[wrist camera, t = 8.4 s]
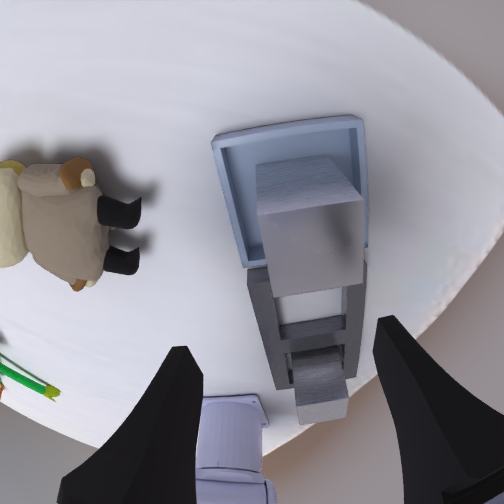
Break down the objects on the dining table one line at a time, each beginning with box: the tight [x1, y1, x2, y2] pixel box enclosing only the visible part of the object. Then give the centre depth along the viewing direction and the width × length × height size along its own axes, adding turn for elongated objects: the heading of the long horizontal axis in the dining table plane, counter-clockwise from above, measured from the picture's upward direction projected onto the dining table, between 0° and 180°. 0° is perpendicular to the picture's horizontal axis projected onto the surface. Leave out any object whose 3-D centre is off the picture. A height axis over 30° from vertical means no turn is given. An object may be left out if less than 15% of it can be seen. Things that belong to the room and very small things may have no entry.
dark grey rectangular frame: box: [247, 260, 367, 390], centre depth 23 cm, size 14×8×2 cm, turn 11°
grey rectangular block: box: [291, 345, 349, 425], centre depth 23 cm, size 4×4×6 cm
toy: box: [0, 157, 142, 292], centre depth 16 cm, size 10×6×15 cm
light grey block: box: [256, 154, 364, 298], centre depth 14 cm, size 4×4×6 cm
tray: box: [211, 115, 368, 268], centre depth 16 cm, size 8×8×2 cm
